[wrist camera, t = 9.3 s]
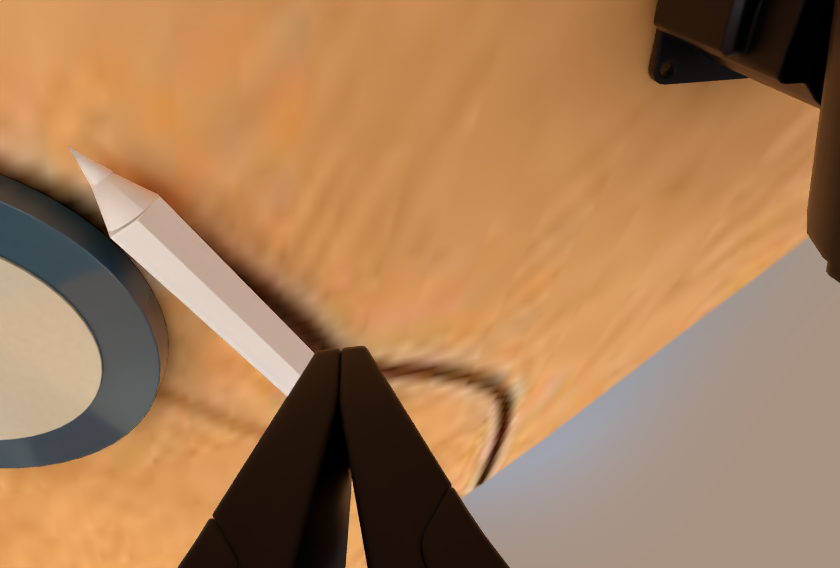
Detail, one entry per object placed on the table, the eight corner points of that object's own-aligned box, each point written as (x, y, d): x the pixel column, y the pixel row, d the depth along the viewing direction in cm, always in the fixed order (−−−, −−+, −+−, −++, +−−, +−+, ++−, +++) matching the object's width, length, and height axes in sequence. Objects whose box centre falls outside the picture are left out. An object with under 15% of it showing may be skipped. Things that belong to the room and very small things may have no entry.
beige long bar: (91, 126, 19) (350, 389, 27) (39, 165, 18) (319, 420, 27) (94, 128, 17) (373, 413, 25) (34, 172, 16) (340, 447, 25)
